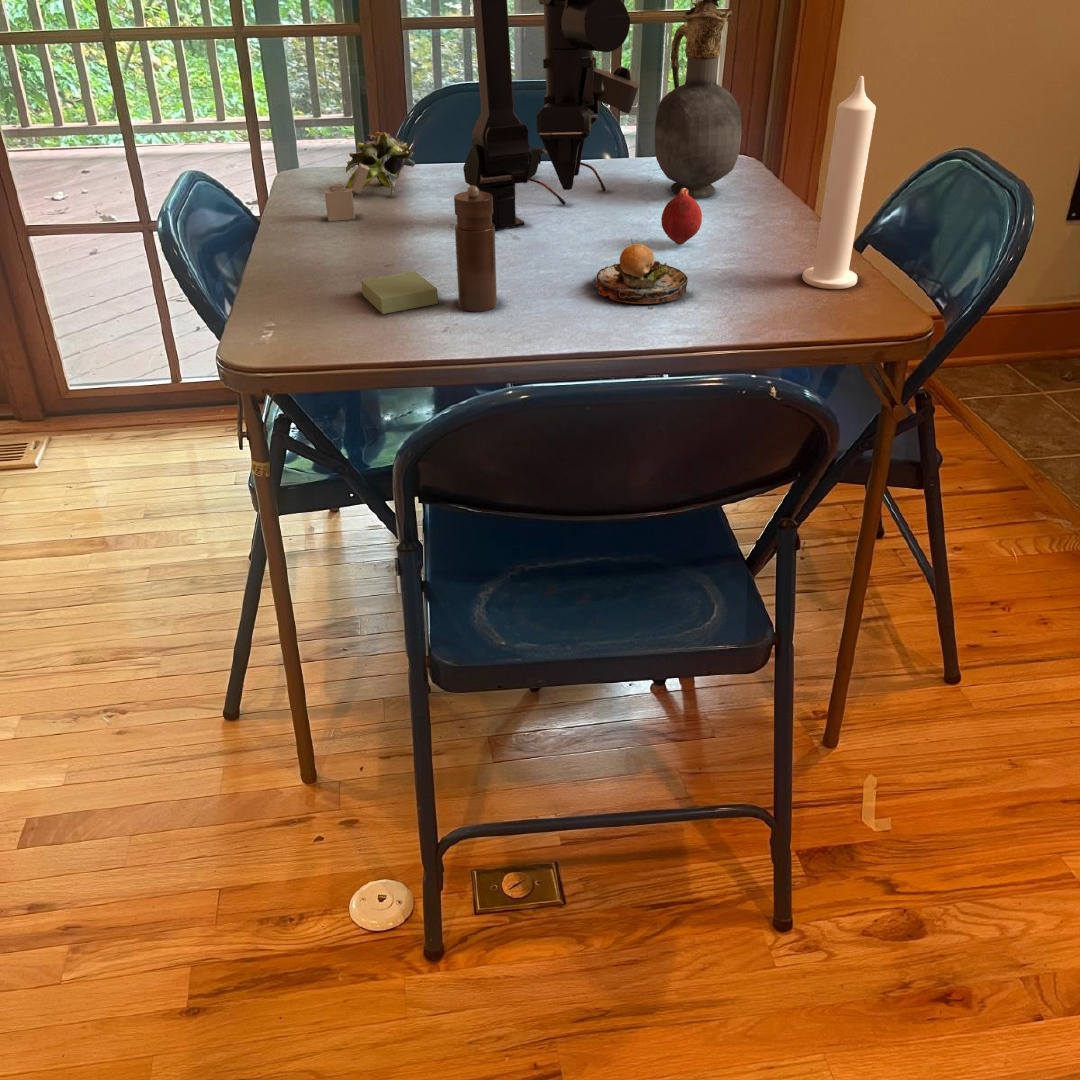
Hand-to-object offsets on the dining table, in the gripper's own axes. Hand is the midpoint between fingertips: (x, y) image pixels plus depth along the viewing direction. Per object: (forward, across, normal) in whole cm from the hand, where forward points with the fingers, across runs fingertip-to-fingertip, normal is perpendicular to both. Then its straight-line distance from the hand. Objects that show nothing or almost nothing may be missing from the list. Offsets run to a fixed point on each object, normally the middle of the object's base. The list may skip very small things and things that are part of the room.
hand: (571, 182), depth 129 cm
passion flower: (+9, +39, +36) cm, 54 cm away
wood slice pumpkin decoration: (+13, -4, -9) cm, 16 cm away
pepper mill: (+13, -11, +11) cm, 20 cm away
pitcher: (+10, +45, -16) cm, 49 cm away
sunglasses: (+10, +43, +8) cm, 44 cm away
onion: (+12, +15, -14) cm, 24 cm away
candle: (+14, +2, -34) cm, 37 cm away
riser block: (+12, -10, +21) cm, 27 cm away
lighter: (+10, +24, +37) cm, 45 cm away
